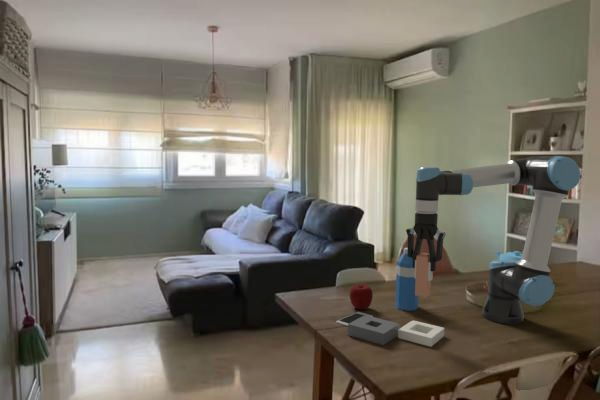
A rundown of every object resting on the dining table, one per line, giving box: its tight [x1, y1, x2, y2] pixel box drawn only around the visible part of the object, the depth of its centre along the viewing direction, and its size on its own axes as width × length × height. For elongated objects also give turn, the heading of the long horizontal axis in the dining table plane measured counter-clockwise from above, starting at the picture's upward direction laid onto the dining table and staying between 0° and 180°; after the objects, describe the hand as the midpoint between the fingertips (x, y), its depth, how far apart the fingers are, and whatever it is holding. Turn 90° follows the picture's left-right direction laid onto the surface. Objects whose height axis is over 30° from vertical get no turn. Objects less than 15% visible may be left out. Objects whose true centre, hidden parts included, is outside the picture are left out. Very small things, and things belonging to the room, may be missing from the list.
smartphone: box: [335, 311, 374, 327], centre depth 181 cm, size 7×15×1 cm, turn 139°
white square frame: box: [397, 320, 445, 348], centre depth 165 cm, size 12×12×3 cm
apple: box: [349, 283, 374, 311], centre depth 194 cm, size 10×10×10 cm
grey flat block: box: [347, 315, 401, 346], centre depth 166 cm, size 14×12×4 cm
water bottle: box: [394, 247, 419, 311], centre depth 196 cm, size 9×9×25 cm
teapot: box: [493, 250, 523, 261], centre depth 250 cm, size 22×11×14 cm, turn 42°
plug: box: [415, 252, 432, 298], centre depth 163 cm, size 4×4×15 cm
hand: (423, 278), depth 163 cm, fingers closed on plug, 4 cm apart
